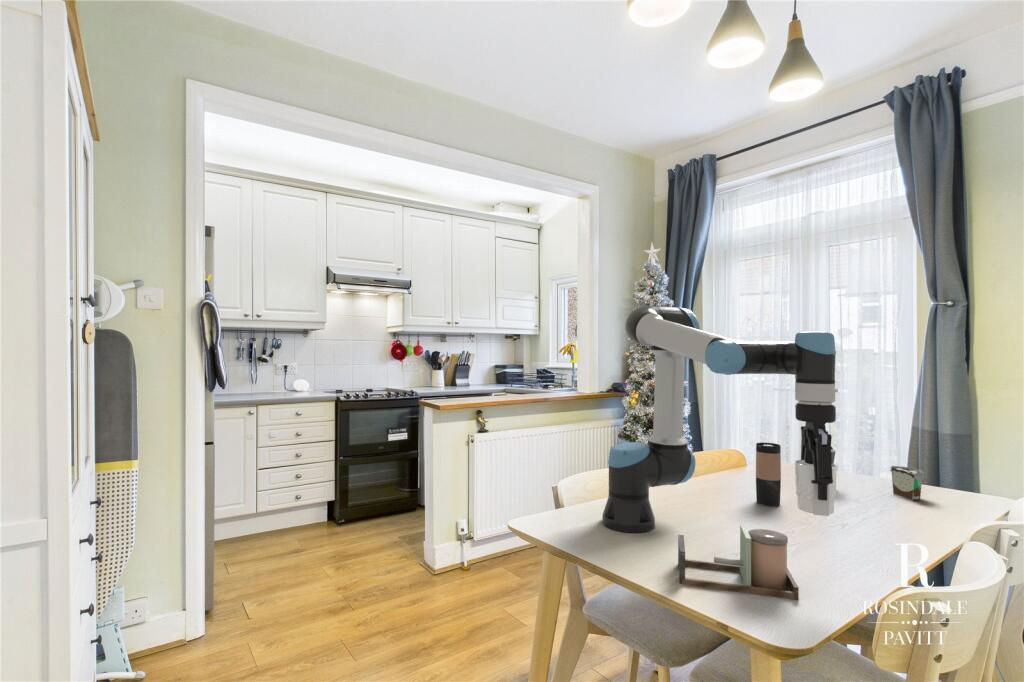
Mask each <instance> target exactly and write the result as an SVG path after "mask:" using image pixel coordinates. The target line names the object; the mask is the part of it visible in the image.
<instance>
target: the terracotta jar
mask: <svg viewBox="0 0 1024 682" xmlns="http://www.w3.org/2000/svg"><path fill="white" fill-rule="evenodd" d="M748 533H749V535H750V537H751V586H753V587H761V588H768V589H776V590H784V591H788V590H787V589H788V586H787V568H788V544H789V541H788V540H789V539H788V536H787V535H785V534H784V533H781V532H779V531H776V530H770V529H763V528H756V529H755V528H754V529H750V530H748Z"/></svg>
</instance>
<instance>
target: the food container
mask: <svg viewBox="0 0 1024 682" xmlns="http://www.w3.org/2000/svg"><path fill="white" fill-rule="evenodd" d="M889 471H890V472H891V483H892V493H893V495H895V496H898V497H900V496H901V497H900V498H903V499H905V498H906V500H908V499H909V501H911V502H919V501H921V493H922V484H923V480H924V479H925V474H924V472H923V471H922V470H920V469H917V468H913V467H906V466H898V465H891V467H890V470H889Z"/></svg>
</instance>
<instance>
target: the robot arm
mask: <svg viewBox="0 0 1024 682" xmlns="http://www.w3.org/2000/svg"><path fill="white" fill-rule="evenodd" d="M624 326H625V332H626V335H627V336H628V338H629V340H631V341H632V342H634V343H636V344H639V345H642V346H644V347H649V348H650V352H652V353H653V355H654V356H655V361H654V363H655V366H654V395H653V396H654V397H653V426H652V427H653V428H652V429H653V431H652V434H651V435H650V436H649V437H648V438H647V443H645V442H642V441H641V442H639V441H633V442H630V441H628V442H627V441H626V442H622V443H618V444H615V445H613V446H612V447H611V448H610V450H609V452H608V460H607V463H608V497H607V499H606V502H605V503H606V504H605V506H604V508H603V512H602V521H601V522H602V524H603V525H604V526H605V527H606V528H609V529H611V530H615V531H618V532H624V533H645V532H650V531H653V530H654V529H655V527H656V519H655V515H654V512H653V508H652V504H651V502H650V498H649V497H650V487H661V486H676V485H679V484H684V483H686V482H688V481H689V480H690V479H691V478H692V477H693V475H694V472H695V470H696V456H695V455H694V452H693V450H692V448H691V447H689V445H688V443H689V442H688V440H687V439H685V437H684V436H683V433H684V432H683V429H684V428H683V426H684V425H683V424H684V399H685V398H684V397H685V396H684V395H685V393H684V392H685V364H686V362H685V361H686V358H687V359H691V360H693V361H696V362H699V363H701V364H703V365H706V367H708V368H709V370H710V371H711V372H712V373H714V374H720V375H726V376H731V375H759V374H760V375H766V374H767V375H772V374H773V375H795V376H794V379H795V382H794V396H795V397H794V399H795V400H796V401H797V402H796V404H795V405H794V406H795V420H797V421H800V422H804V423H805V425H801V427H800V430H801V431H800V432H801V433H800V435H801V440H800V442H801V444H800V460H805V462H806V463H807V464H813V467H814V476H815V480H812V481H811V483H812V484H813V513H812V514H813V515H814V516H824V517H830V514H829V484H832V483H833V478H832V458H831V447H832V438H833V437H832V434H829V431H827V427H826V424H828V423H829V424H832V423H835V422H836V419H837V416H836V414H837V410H836V409H837V408H836V407H837V406H835V405H834V404H833V403H835V402H836V393H838V392H839V389H838V388H837V387H836V355H837V351H836V343H835V339H836V338H835V336H834V334H833V333H831V332H830V331H801V332H800V331H799V332H797V333H795V336H794V341H759V340H758V341H755V340H754V341H753V340H749V341H746V340H736V339H734V338H733V339H732V338H729V337H725V336H723V335H719V334H715V333H711V332H708V331H704V330H701V329H700V323H699V320H698V318H697V316H696V314H694V312H693V311H692V310H691V309H688V308H687V307H686V308H685V307H684V308H683V307H679V306H660V305H657V306H656V305H655V306H654V305H642V306H639V307H638V308H635V309H633V310H632V311H631V312H630V313H629V314H628V316H627V318H626V321H625V325H624ZM823 476H825V477H823Z"/></svg>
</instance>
